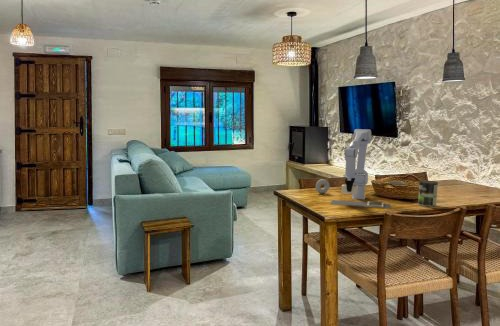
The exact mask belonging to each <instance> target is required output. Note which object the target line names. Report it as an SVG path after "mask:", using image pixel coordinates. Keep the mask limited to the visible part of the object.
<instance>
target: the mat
mask: <svg viewBox="0 0 500 326" xmlns="http://www.w3.org/2000/svg"><path fill="white" fill-rule="evenodd" d="M367 202H368V201H366V202H365V201H351V200H350V201H349V200H338V199H332V200H331V202H330V205H335V206H345V207H346V206H348V207H349V206H352V207H359V208H360V207H362V208H368V207H367ZM369 205H376V206H382V204H378V203H369ZM391 207H392V205H391V203H383V208H382V209H387V210H390V209H391ZM373 208H375V207H373ZM375 209H376V208H375Z"/></svg>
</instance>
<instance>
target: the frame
mask: <svg viewBox="0 0 500 326" xmlns="http://www.w3.org/2000/svg"><path fill="white" fill-rule="evenodd" d="M366 202H367V207H366V208H374V207H375V209H376V208H377V209H384V208H383V204H384V201H378V200H377V201H376V200H375V201H374V200H368V201H366ZM369 203H378V204H382V206H376V205H369Z"/></svg>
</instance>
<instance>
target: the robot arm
mask: <svg viewBox="0 0 500 326" xmlns="http://www.w3.org/2000/svg"><path fill="white" fill-rule="evenodd" d="M353 138H354V139H353V140H352V141H350V144H349V145H348V147H347V148H345V150H344V159H345V174H343V178H344V177H345V179H344V182H345V185H346V186H347V192H351V190H352V186H353V185H358V193H357V194H352V196H351V199H354V200H366V195H365V191H366V185H367V184H368V182H369V173H368V172H367V171H366V170H365V164H366V155H367V149H368V145H369V144H371V141H372V140H371V139H372V130H371V129H365V128H364V129H362V128H361V129H359V128H356V129H354V131H353ZM356 160H357V162H356Z"/></svg>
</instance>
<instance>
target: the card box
mask: <svg viewBox="0 0 500 326" xmlns="http://www.w3.org/2000/svg"><path fill="white" fill-rule="evenodd" d="M340 192H341V194H347V195H353V194H357V193H358V185H353V186H352V190H351V192H347V186H346V184H342V185H341V191H340Z"/></svg>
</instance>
